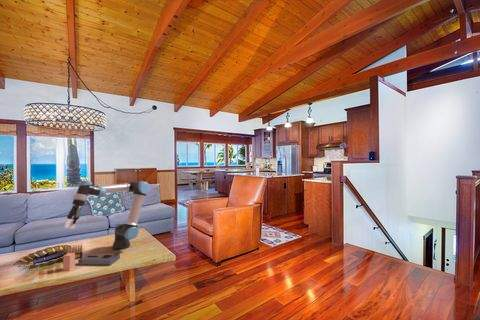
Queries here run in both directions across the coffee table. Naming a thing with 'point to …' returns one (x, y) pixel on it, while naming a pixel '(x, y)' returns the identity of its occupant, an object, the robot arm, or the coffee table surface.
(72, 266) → the square peg
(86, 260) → the bore plate
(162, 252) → the coffee table surface
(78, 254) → the ammunition clip
